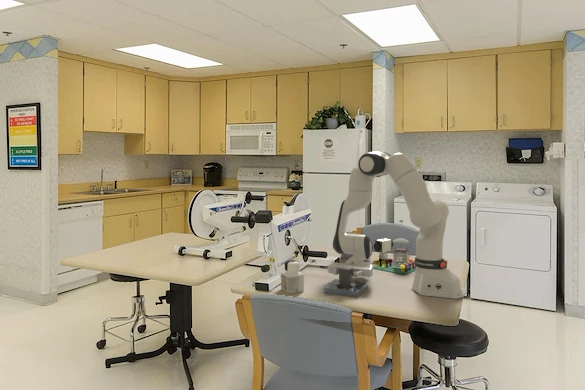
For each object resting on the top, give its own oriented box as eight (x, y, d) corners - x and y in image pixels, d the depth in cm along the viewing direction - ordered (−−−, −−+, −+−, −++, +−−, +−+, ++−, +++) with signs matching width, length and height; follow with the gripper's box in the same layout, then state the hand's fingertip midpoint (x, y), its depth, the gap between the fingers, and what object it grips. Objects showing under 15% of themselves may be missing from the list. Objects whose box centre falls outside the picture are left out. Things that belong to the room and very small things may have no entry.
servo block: (338, 288, 205) (338, 266, 204) (356, 290, 201) (356, 267, 201) (334, 292, 199) (334, 269, 198) (352, 294, 196) (352, 271, 195)
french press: (387, 265, 244) (388, 218, 242) (407, 264, 247) (408, 217, 245) (396, 270, 235) (397, 221, 232) (417, 268, 237) (417, 220, 235)
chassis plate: (334, 284, 211) (334, 279, 210) (366, 288, 205) (366, 282, 204) (324, 293, 198) (324, 287, 198) (358, 297, 192) (358, 291, 192)
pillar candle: (350, 254, 271) (350, 229, 270) (361, 257, 263) (361, 231, 262) (337, 256, 266) (337, 231, 265) (348, 260, 258) (347, 233, 257)
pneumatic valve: (393, 258, 261) (393, 237, 260) (379, 261, 254) (379, 239, 253) (385, 256, 265) (386, 235, 264) (371, 259, 258) (372, 238, 257)
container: (281, 289, 205) (280, 260, 203) (297, 286, 208) (296, 258, 206) (287, 293, 198) (287, 264, 196) (304, 291, 201) (303, 262, 199)
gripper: (333, 258, 217) (322, 264, 204) (376, 261, 208) (368, 269, 196) (333, 271, 217) (322, 278, 205) (375, 275, 209) (368, 283, 196)
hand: (345, 274), depth 200 cm, fingers open, 8 cm apart
